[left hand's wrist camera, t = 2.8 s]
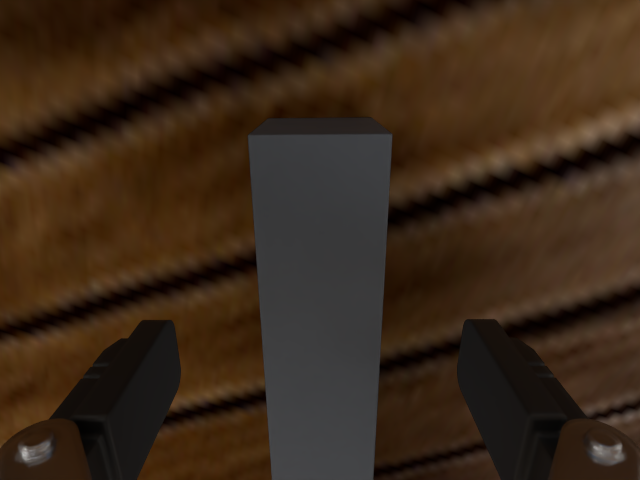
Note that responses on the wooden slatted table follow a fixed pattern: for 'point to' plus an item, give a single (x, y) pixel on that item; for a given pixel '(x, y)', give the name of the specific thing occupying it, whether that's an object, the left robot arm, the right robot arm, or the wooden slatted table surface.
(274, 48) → the wooden slatted table surface
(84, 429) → the left robot arm
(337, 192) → the bar
